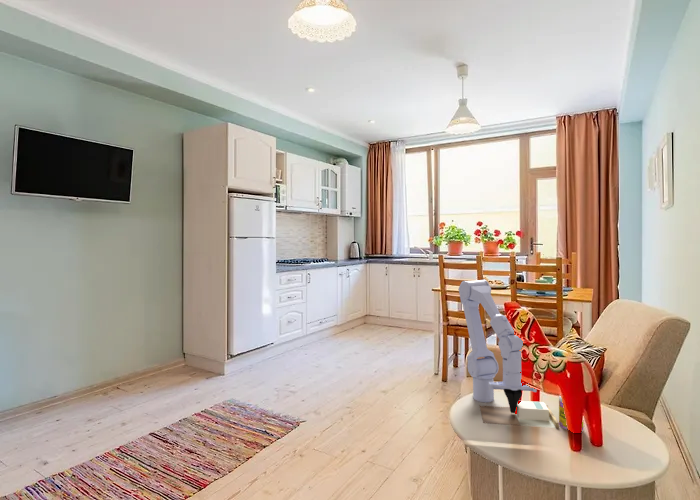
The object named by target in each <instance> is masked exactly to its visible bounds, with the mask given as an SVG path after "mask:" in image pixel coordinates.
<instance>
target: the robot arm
mask: <svg viewBox="0 0 700 500" xmlns="http://www.w3.org/2000/svg"><path fill="white" fill-rule="evenodd" d="M458 293H459V299H460V303H461V305H462V307H463V313H464V317H465V322H466V323H465V324H466V326H467V331H468V336H469V340H470V344H471V345H470V346H471V352H469V354H468V355H467V356H466V359H467V360H466V361H467V370H468V373H469V375H470V376H471V377H472V398H473V400H475V401H477V402H479V403H490V402H491V403H492V402H493V401H494V400H495V394H494V393H495V392H494V391H495V390H501V391H502V390H503V392H504V395H505V396H506V399H507V402H508V405H509V406H508V407H510V411H511V413H515V411H516V407H517V404H518V401H520V399H522V395H523V392H525V391H526V392H532V393H537V389H534V388H530V387H529V386H527V385H523V386H522V383H523V382H522V383H521V379H522V351H519V350H521V348H522V346H523V341H522V340H521V338H519V337H518V336H516V335H514V331H515V329H514V328H513V327H512V324H511V323H510V322H509V320H508V318H507V316H506V315H504V314H501V313H500V310H499V309H498V307H497V305H496V302H495V300H494V298H493V296H492V287H491V286H490V283H489V282H488V280H487V279H480V280H479V279H477V280H463V281H461V282H460V285H459V287H458ZM480 304H481V306H482V307H483V310H484V311H485V312H486V313H487V315H488V316H489V318H490V321H489V324H490V326H491V328H492V329H493V331H494V333H495V335H496V336H497V338H498V342H497V344H498V347H499V348H498V349H499V350H500V356H501V357H502V381H494V378H496V375H497V374H498V373H499V370H500V369H499V367H500V366H499V363H498V361H497V359H496V357H495V353H494V352H493V351H492V350H490V349H488V347H487V341H486V337H485V333H484V328H483V324H482V319H481V315H480V310H479V305H480ZM513 329H514V330H513ZM520 372H521V373H520ZM522 391H523V392H522Z"/></svg>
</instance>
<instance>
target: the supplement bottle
mask: <svg viewBox="0 0 700 500" xmlns="http://www.w3.org/2000/svg"><path fill="white" fill-rule="evenodd" d="M558 423H559V428H560V427H561V429H564V430H567V425H566V418H565V414H564V408H563V403H562V398H561V396H560V395H559V396H558ZM583 431H584V421H583V422H582V432H583Z"/></svg>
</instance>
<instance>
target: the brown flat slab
mask: <svg viewBox="0 0 700 500" xmlns="http://www.w3.org/2000/svg"><path fill="white" fill-rule="evenodd" d="M546 406H547V408H548V409H549V421H542V420H527V419H519V418H518V416H517V414H515V413H511V411H510V406H494V405H493V406H492V405H479V409H480V410H479V411H480V414H481V419H482V423H483V424H492V425H505V426H506V425H508V426H523V427H536V428H551V429H559V428H560V425H559V420H557V418H556V416H555V414H554V413H553V411H552V410H551V408H550V407H549V405H547V404H546Z"/></svg>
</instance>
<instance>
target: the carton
mask: <svg viewBox="0 0 700 500" xmlns="http://www.w3.org/2000/svg"><path fill="white" fill-rule="evenodd" d="M520 401H521V402H520V403H519V404H517V416H518V418H519V419H527V420H542V421H549V409H548V408H547V406H546V405H547V404H546V403H545V402H544V401H531V400H530V401H528V400H520Z"/></svg>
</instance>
